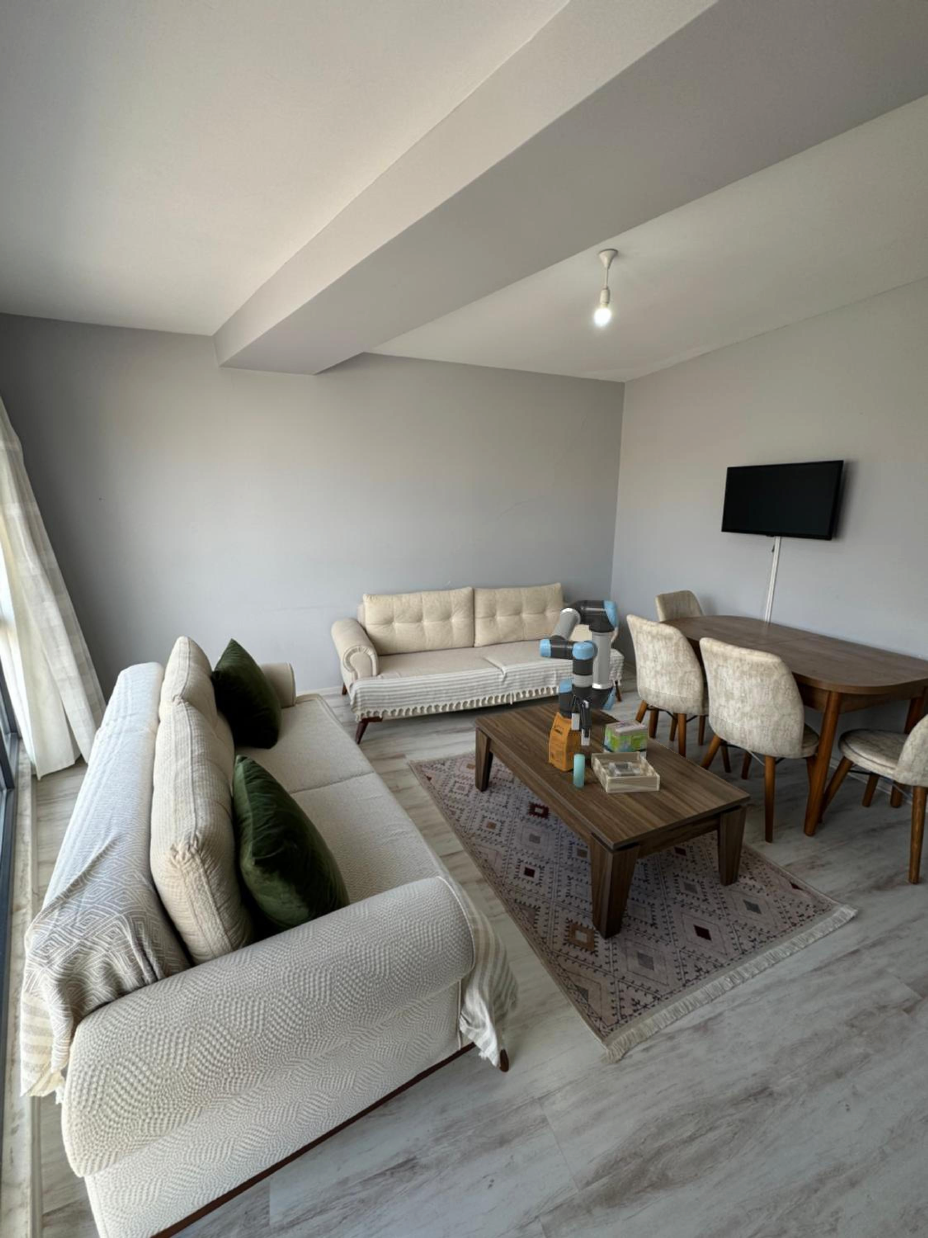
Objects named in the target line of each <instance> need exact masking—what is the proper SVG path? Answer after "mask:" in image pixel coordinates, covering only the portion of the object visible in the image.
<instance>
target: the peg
mask: <svg viewBox="0 0 928 1238" xmlns="http://www.w3.org/2000/svg"><path fill="white" fill-rule="evenodd" d="M585 760H586V756H585V755H584V754H581V753H579V754H575V755H574V768H573V778H572V779H573V780H572V781H573V783H572V785H573V786H574V787H576V788H583V787H584V785H585V767H586V766H585V765H586V763H585V762H586V761H585Z"/></svg>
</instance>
